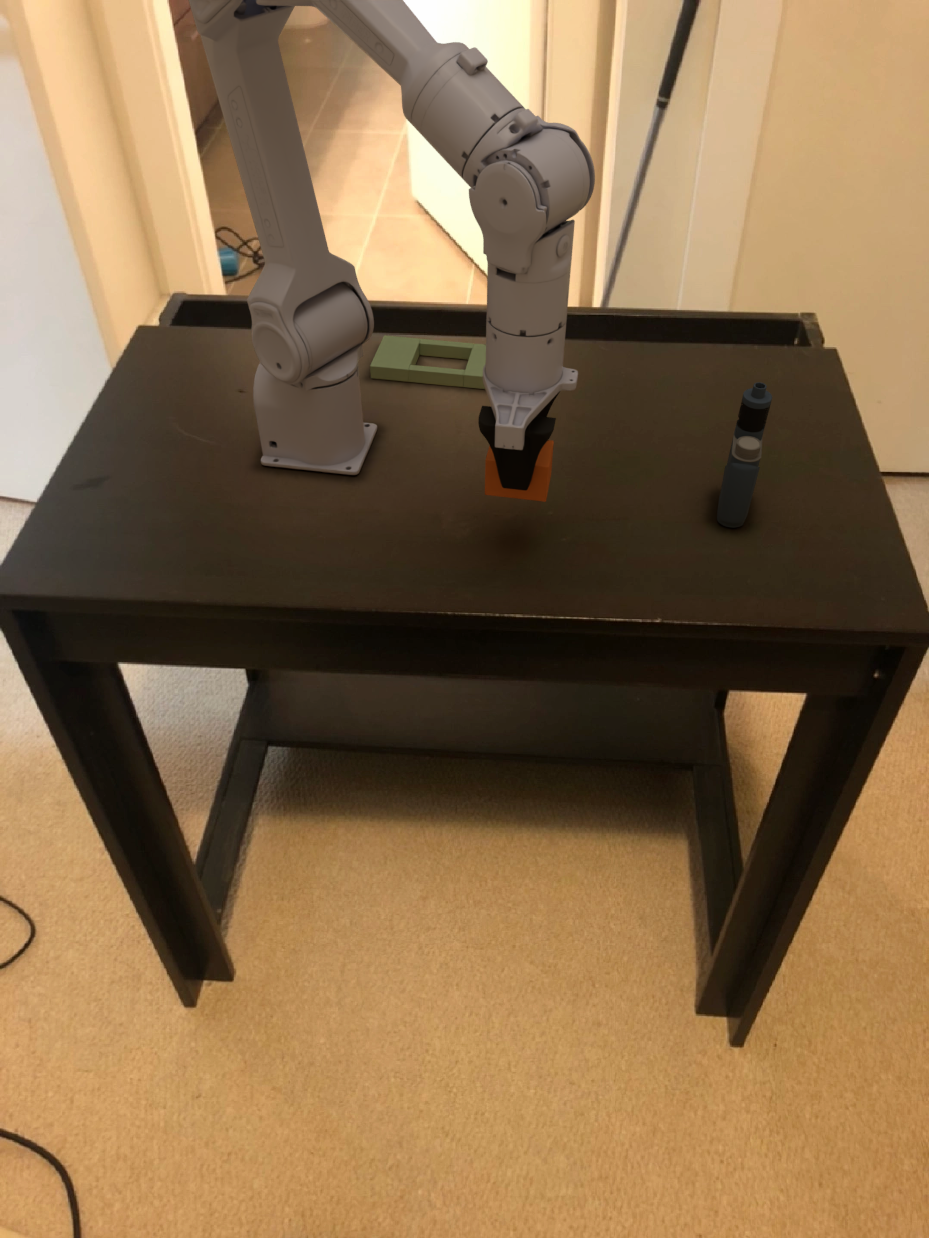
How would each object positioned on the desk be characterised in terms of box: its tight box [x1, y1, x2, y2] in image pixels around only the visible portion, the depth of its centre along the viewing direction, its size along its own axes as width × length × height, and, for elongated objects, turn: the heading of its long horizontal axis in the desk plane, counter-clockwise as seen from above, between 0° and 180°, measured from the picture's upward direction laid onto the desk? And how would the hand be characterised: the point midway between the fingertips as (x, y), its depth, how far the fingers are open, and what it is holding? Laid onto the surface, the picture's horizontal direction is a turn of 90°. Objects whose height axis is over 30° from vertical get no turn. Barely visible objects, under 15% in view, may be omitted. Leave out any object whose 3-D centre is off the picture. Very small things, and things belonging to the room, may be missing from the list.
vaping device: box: [716, 381, 773, 529], centre depth 83 cm, size 3×5×12 cm, turn 166°
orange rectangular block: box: [484, 439, 555, 503], centre depth 79 cm, size 5×4×4 cm
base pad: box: [369, 334, 486, 390], centre depth 104 cm, size 14×6×2 cm, turn 80°
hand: (518, 471), depth 79 cm, fingers closed on orange rectangular block, 3 cm apart
